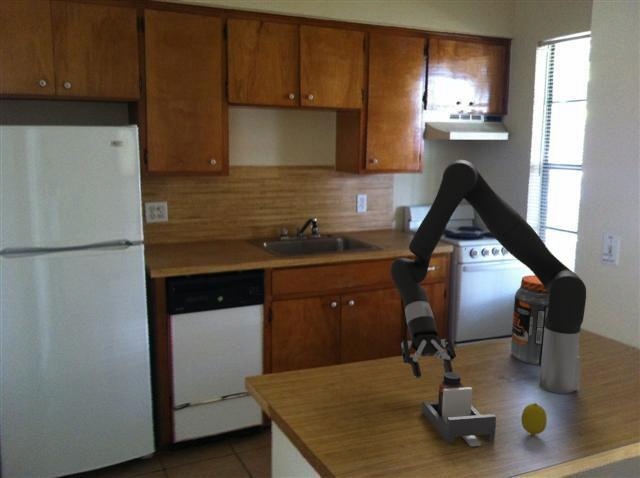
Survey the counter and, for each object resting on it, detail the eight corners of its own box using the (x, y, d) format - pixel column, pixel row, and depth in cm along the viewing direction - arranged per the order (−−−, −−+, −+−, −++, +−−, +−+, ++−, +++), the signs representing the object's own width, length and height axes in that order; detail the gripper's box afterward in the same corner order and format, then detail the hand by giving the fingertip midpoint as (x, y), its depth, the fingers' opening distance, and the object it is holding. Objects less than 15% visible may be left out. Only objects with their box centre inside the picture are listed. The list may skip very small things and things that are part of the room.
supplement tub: (506, 347, 195) (512, 272, 190) (554, 350, 193) (562, 275, 188) (515, 364, 179) (521, 283, 175) (568, 368, 177) (576, 286, 173)
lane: (463, 409, 148) (465, 387, 147) (494, 440, 133) (496, 416, 132) (422, 412, 146) (423, 390, 145) (447, 444, 131) (449, 420, 130)
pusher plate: (468, 421, 141) (470, 387, 139) (489, 444, 130) (492, 407, 129) (441, 423, 140) (443, 388, 138) (460, 447, 129) (463, 409, 127)
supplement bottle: (462, 425, 140) (465, 381, 138) (437, 422, 141) (439, 378, 139) (461, 414, 145) (464, 371, 144) (437, 411, 147) (440, 369, 145)
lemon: (544, 432, 137) (547, 400, 136) (545, 443, 132) (548, 410, 131) (520, 427, 139) (522, 396, 138) (520, 438, 134) (522, 406, 133)
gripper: (400, 315, 157) (412, 372, 148) (448, 314, 160) (464, 369, 151) (392, 328, 163) (404, 383, 154) (440, 326, 166) (454, 380, 157)
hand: (434, 376), depth 153 cm, fingers open, 8 cm apart
